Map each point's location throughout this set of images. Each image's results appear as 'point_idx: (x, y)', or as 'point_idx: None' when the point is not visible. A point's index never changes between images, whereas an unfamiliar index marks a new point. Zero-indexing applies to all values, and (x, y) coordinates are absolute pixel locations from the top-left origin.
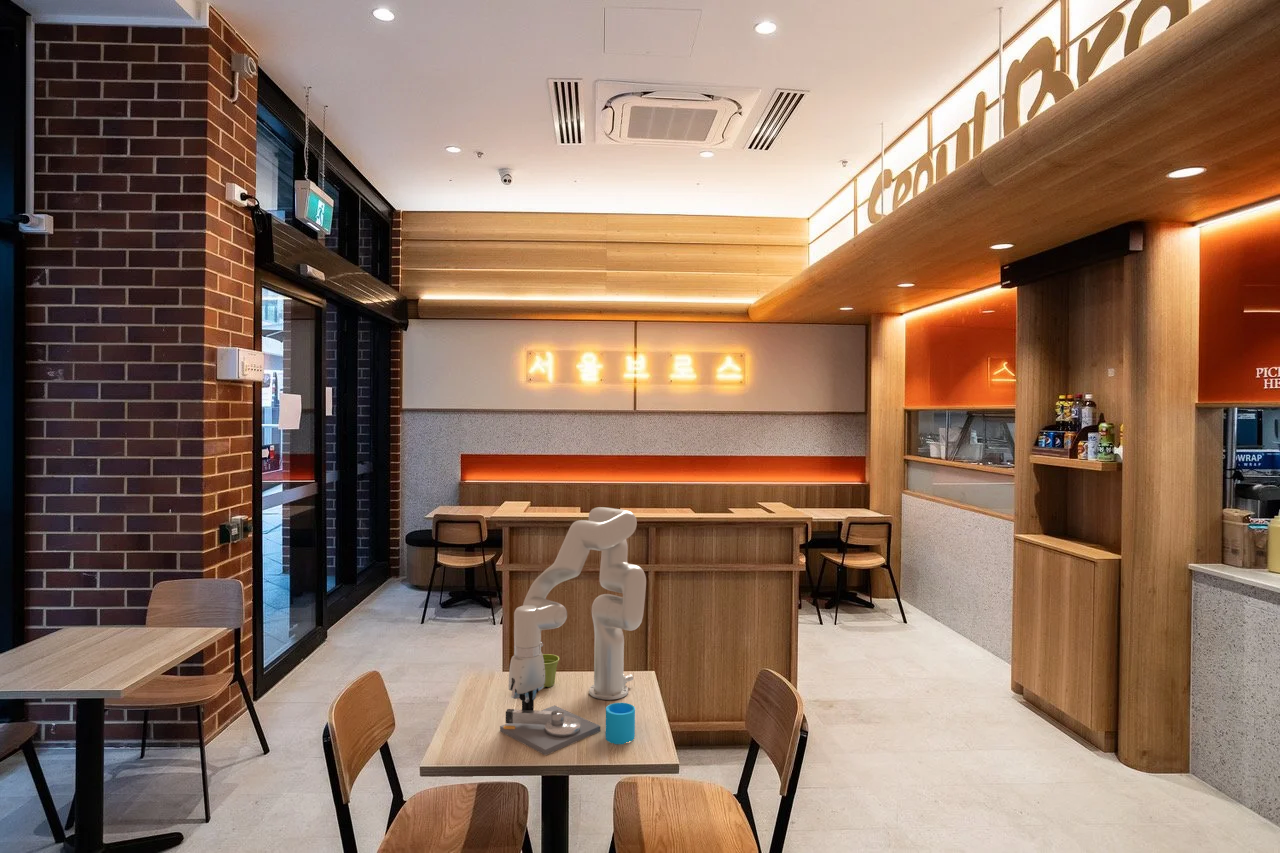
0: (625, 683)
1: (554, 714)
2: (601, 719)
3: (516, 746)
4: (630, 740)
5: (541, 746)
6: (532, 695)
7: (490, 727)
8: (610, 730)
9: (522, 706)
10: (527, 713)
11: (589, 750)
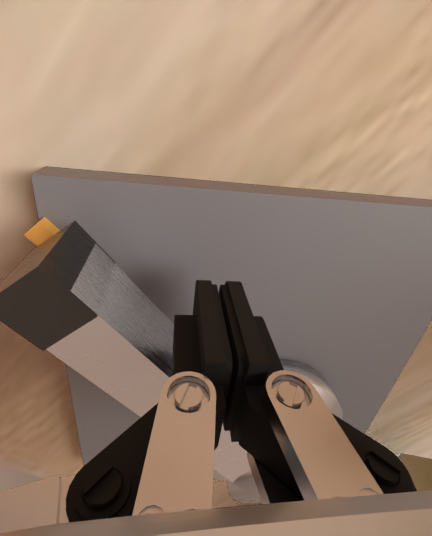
0: None
1: (240, 489)
2: (428, 390)
3: (33, 357)
4: None
5: (89, 457)
6: (260, 491)
7: (15, 36)
8: None
9: (174, 347)
10: (139, 412)
11: (216, 484)
